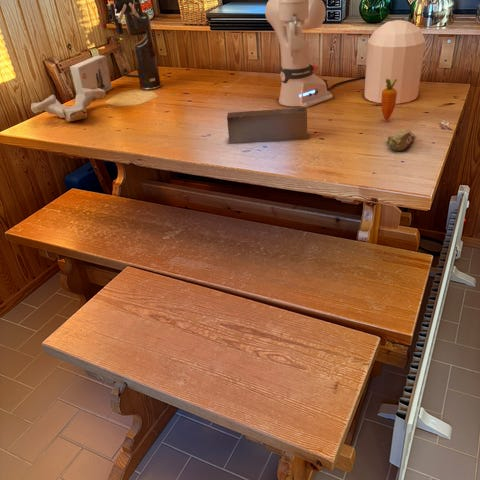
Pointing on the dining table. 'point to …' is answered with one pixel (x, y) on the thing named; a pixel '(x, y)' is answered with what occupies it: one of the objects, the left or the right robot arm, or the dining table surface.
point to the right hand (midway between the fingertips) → (294, 60)
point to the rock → (400, 140)
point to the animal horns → (72, 111)
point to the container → (394, 61)
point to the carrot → (388, 99)
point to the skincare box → (91, 74)
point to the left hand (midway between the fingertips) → (129, 31)
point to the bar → (267, 125)
